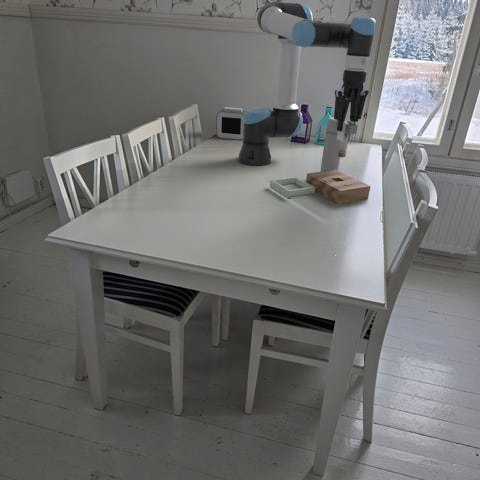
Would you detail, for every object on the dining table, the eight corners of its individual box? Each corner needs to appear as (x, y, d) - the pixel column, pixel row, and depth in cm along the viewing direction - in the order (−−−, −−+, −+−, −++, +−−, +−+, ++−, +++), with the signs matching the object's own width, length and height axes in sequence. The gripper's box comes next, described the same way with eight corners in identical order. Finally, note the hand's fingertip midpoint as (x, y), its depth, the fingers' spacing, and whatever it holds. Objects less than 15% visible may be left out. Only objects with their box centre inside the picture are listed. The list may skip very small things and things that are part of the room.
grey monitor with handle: (215, 137, 230) (216, 108, 223) (220, 133, 240) (220, 105, 233) (245, 140, 228) (246, 111, 221) (248, 135, 238) (249, 107, 231)
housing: (305, 188, 165) (307, 173, 162) (333, 184, 171) (335, 169, 168) (337, 206, 149) (340, 190, 146) (367, 201, 155) (370, 185, 152)
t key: (345, 159, 149) (351, 125, 144) (331, 153, 156) (336, 120, 150) (351, 158, 151) (357, 125, 145) (337, 152, 157) (342, 120, 151)
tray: (269, 187, 163) (270, 179, 162) (295, 184, 168) (296, 176, 167) (288, 199, 153) (288, 191, 152) (314, 195, 158) (315, 187, 157)
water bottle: (337, 183, 171) (347, 121, 160) (318, 181, 173) (326, 119, 161) (337, 176, 179) (346, 117, 168) (318, 174, 181) (327, 115, 169)
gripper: (344, 71, 133) (332, 144, 144) (381, 71, 140) (368, 140, 151) (329, 68, 139) (319, 138, 150) (366, 68, 146) (354, 135, 157)
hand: (343, 139), depth 150 cm, fingers closed on t key, 3 cm apart
